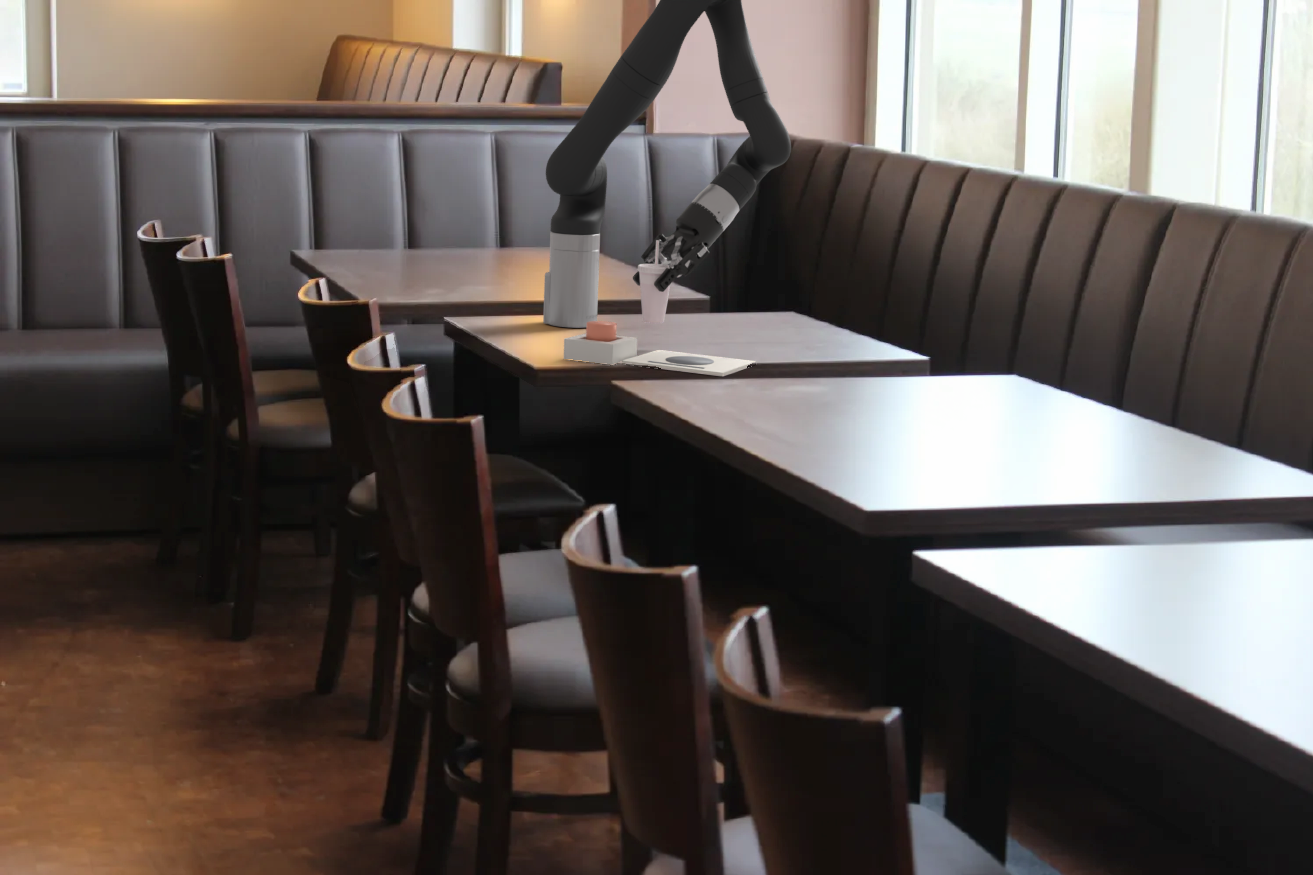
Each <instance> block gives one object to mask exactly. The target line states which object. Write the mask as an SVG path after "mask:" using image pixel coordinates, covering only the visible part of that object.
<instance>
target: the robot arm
mask: <svg viewBox="0 0 1313 875" xmlns="http://www.w3.org/2000/svg"><path fill="white" fill-rule="evenodd" d="M703 13H705V14H706V17H707V19H708V21H709V23H710V26H711V30H712V33H713V36H714V40H715V44H716V53H717V60H718V67H719V73H720V79H721V81H722V86H723V88H724V92H725V94H726V98H727V102H728V103H729V106H730V109H731V112H732V114H733V116H734V118H735V119H736V120H737V121H739V122H742V123H743V124H744V126H745V128H746V129H747V131H748V134H749V136H748V137H747V138H746V139H745V140H744V141H743V142H742V143H741V144H740V145H739V147H738V148H737V149H736V151H735V152H734V153H733V155H732V157H731V158H730V159H729V161H728V163H727V164H726V165H725V167H724V168H723V169H721V170H720V171H719V173H717V175H716V176H715V177H714V178H713V179H712V180H711V182H709V184H707V186H706V187H705V188H703V189H702V191H700V192H699V193H698V194H697V195H696V196H695V197H694V199H692V201H691V202H690V203H689V205H688V206H686V208H685V209H684V210H683V211H682V212H681V213H680V214H679V216H678V217H676V219H675V228H676V229H675V231H673V232H672V233H671V234H670V235H669V236H665V235H664V234H663V233H661V232H660V233H659V234H658V235H656V237H655V238H654V239H653V241H651V243H650V245H649V246H648V247H647V249H645V251H644V252H643V253H642V254H641V256H640V257H641V259H642V260H643V261H644V263H643V264H655V253H656V240H659V257H658V264H663V265H669V268H670V269H669V268H666V269H665V271H664V272H663V273H662V274H661V275H660V276H659V277H658V279H657V280H656V281H655V282H654V285H655V287H656V288H657V289H658V290H659V291H661V292H664V291H665V289H666V288H667V287H668V286H669V285H670V286H671V283H673V281H675V279H676V278H680V277H682V275H684V277H687V276H689V275H690V274H691V273H692V272H693V271H694V270H695V269H696V268H697V267H699V265H701V263H702V262H703V261H704V260H705V259H706V258H707V257H708V256H709V255H710V251H709V248H710V247H711V246H712V245H713V243H714V242H716V240H718V238H719V237H720V236H721V235H722V233H723V232H725V230H726V229H727V228H728V226H730V224H731V223H732V222H733V221H734V220H735V217H736V216H737V214H738V213H739V212H740V210H741V209H743V207H745V205H746V204H747V203H748V201H749V200H750V199H751V198H752V197H753V195H754V194H755V192H756V190H757V185H758V184H759V183H760V182H761V181H762V179H763V178H764V177H766V175H767V174H768V173H769V172H770V171H771V170H773V169H776V168H777V167H780V166H782V165H784V164H785V163H786V162H787V161H788V159H789V158H790V155H791V152H792V143H791V137H790V134H789V132H788V129H787V128H786V125H785V124H784V121H783V120H782V118H781V116H780V114H779V113H778V111H777V109H776V108H775V107H774V105H773V103H772V101H771V99H770V96H769V93H768V89H767V86H766V83H765V81H764V77H763V74H762V72H761V68H760V66H759V62H758V59H757V57H756V53H755V50H754V48H753V43H752V40H751V36H750V32H749V30H748V26H747V21H746V17H745V12H744V8H743V1H742V0H659V1H658V3H657V4H656V6H655V8H654V9H653V11H652V13H651V14H650V16H648V18H647V20H646V21H645V22H644V24H643V25H642V26H641V27H640V29H639V30H638V31H637V33H636V35H635V36H634V38H633V39H632V40H631V42H630V43H629V45H628V46H627V47H626V49H625V50H624V52H623V53H622V54H621V56H620V57H619V59H618V60H617V61H616V63H615V65H613V66H614V67H613V68H612V69H611V71H610V72H609V74H608V75H607V77H606V79H605V81H604V82H603V83H602V85H601V86H600V88H599V90H598V91H597V92H596V94H595V96H594V97H593V99H592V100H591V102H590V104H589V106H588V107H587V109H586V110H585V112H584V114H583V115H582V116H581V117H580V118H579V120H578V122H577V123H576V124H575V125H574V127H573V128H572V129H571V130H570V131H569V133H568V134H567V135H566V136H565V137H564V139H563V140H562V141H561V142H560V143H559V144H558V146H557V147H556V148H555V149H554V150H553V152H552V153H551V154H550V156H549V158H548V160H547V163H546V167H545V179H546V182H547V184H548V187H549V188H550V189H551V190H552V192H554V193H556V194H557V195H559V201H558V202H559V203H558V206H557V209H556V211H555V212H554V214H553V215H552V217H551V218H550V235H549V236H550V237H549V238H550V239H549V269H548V270H549V271H547V272H545V274H544V282H543V283H544V287H543V288H544V289H543V290H544V291H543V321H542V322H543V324H545V325H546V324H547V325H550V326H554V327H561V328H577V329H578V328H586V326H587V322H590V321H598V305H599V304H598V303H599V302H598V301H599V300H598V299H599V278H600V272H599V271H600V247H601V246H600V245H601V225H602V223H603V220H604V218H605V212H606V202H607V189H608V188H607V187H608V168H607V163H606V160H605V157H604V155H605V153H606V152H607V150H608V148H609V147H610V146H611V144H612V143H613V142H614V140H616V139H617V138H618V136H619V135H620V134H622V133H623V132H624V131H625V130H626V129H627V128H628V127H630V125H632V124H633V123H634V122H635V121H636V120H637V119H638V118H639V117H641V115H643V113H644V112H646V110H647V109H648V108H649V107H650V106H651V104H652V103H653V102H654V101H655V100H656V98H657V96H658V95H659V93H660V92H661V90H662V89H663V88H664V87H665V85H666V83H667V81H668V80H669V78H670V76H671V75H672V72H673V70H674V68H675V65H676V63H677V60H678V57H679V55H680V51H681V49H682V46H683V43H684V41H685V39H686V36H687V35H688V33H689V31H690V30H691V29H692V28H693V26H694V25H695V24H696V22H697V21H698V19H699V18H701V15H702V14H703ZM632 280H633V281H634V283H635V284H636V285H637V286H639V287H640V275H639V271H637V272H636V273H635V274H633V276H632Z"/></svg>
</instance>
